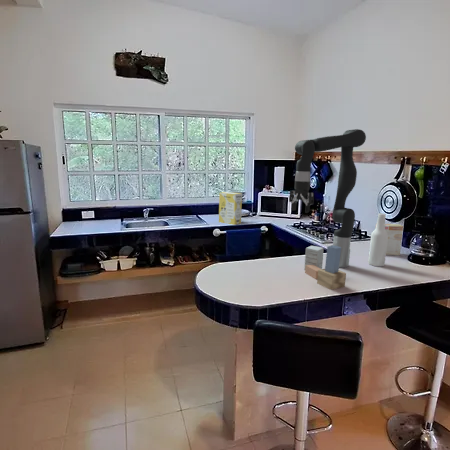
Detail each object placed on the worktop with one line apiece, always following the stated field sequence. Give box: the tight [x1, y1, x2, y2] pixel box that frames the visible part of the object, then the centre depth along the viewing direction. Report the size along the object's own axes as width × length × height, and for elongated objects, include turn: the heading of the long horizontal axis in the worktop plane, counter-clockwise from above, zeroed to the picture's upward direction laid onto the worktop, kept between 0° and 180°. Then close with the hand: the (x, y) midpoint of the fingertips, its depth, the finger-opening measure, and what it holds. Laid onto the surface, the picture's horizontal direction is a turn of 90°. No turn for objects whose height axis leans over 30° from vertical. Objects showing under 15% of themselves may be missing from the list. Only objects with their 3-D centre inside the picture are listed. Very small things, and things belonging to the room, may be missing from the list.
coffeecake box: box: [374, 223, 404, 257], centre depth 217 cm, size 15×7×20 cm, turn 84°
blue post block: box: [324, 244, 341, 273], centre depth 157 cm, size 4×4×12 cm
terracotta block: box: [304, 265, 320, 280], centre depth 172 cm, size 10×4×4 cm, turn 18°
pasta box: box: [218, 191, 243, 226], centre depth 310 cm, size 18×10×28 cm, turn 53°
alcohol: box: [367, 212, 388, 268], centre depth 192 cm, size 9×9×30 cm
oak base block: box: [316, 268, 347, 291], centre depth 159 cm, size 9×9×7 cm
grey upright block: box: [303, 245, 324, 271], centre depth 180 cm, size 7×7×13 cm
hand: (300, 211), depth 174 cm, fingers open, 8 cm apart
